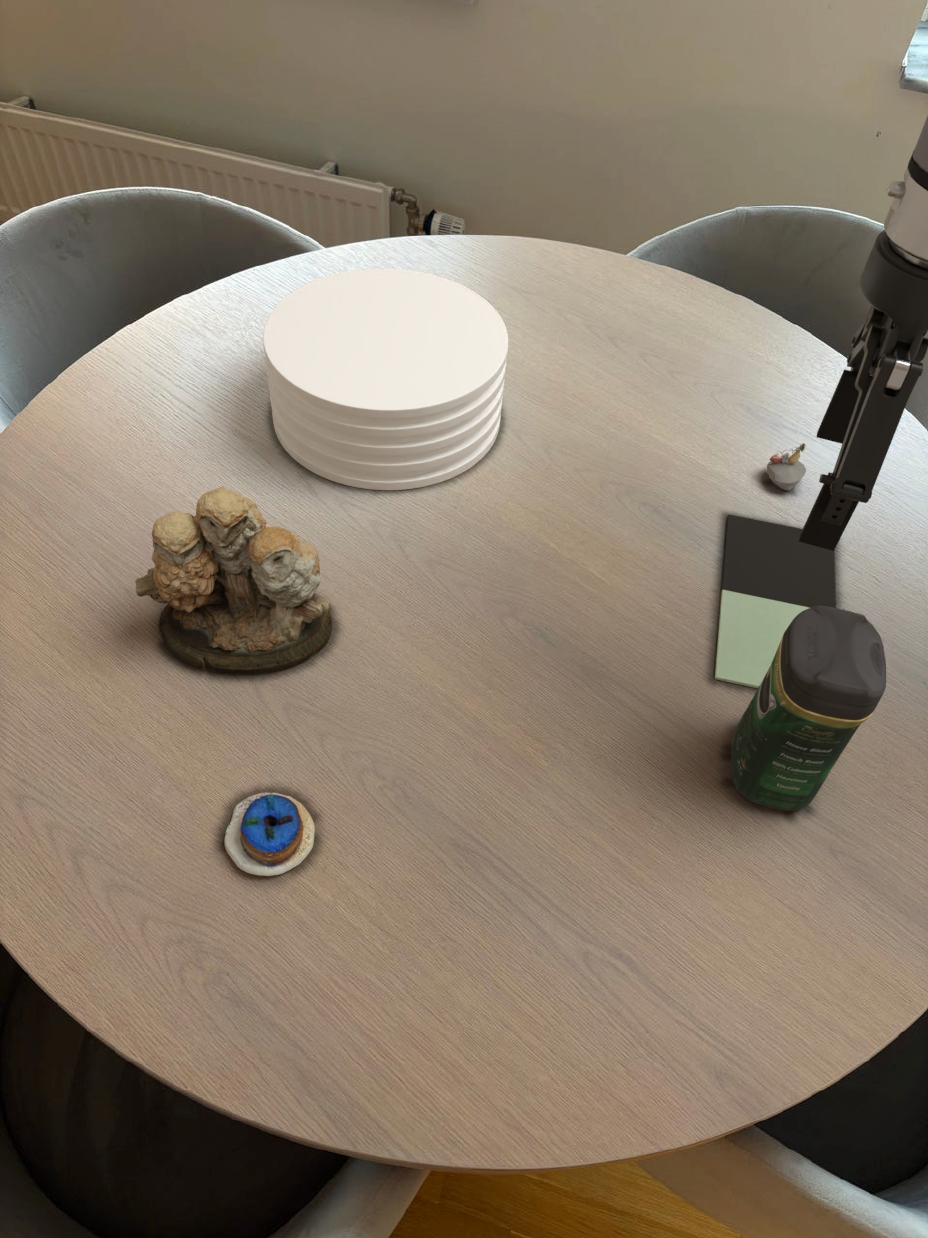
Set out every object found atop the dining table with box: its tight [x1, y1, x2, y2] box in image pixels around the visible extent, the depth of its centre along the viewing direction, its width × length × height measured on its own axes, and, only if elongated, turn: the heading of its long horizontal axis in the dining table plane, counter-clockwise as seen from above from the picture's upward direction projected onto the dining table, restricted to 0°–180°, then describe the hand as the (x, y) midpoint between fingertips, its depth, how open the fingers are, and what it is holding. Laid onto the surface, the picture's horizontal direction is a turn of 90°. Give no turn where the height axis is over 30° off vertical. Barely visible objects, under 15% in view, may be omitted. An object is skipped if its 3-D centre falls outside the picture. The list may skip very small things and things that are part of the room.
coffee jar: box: [730, 606, 887, 812], centre depth 81 cm, size 10×8×19 cm
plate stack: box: [262, 267, 509, 491], centre depth 113 cm, size 28×28×12 cm
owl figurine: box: [134, 486, 333, 675], centre depth 88 cm, size 18×12×17 cm, turn 94°
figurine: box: [766, 443, 807, 491], centre depth 111 cm, size 5×4×6 cm
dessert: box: [223, 792, 316, 877], centre depth 80 cm, size 8×7×6 cm
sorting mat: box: [714, 513, 837, 689], centre depth 101 cm, size 24×12×1 cm, turn 167°
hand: (824, 488), depth 78 cm, fingers open, 13 cm apart
